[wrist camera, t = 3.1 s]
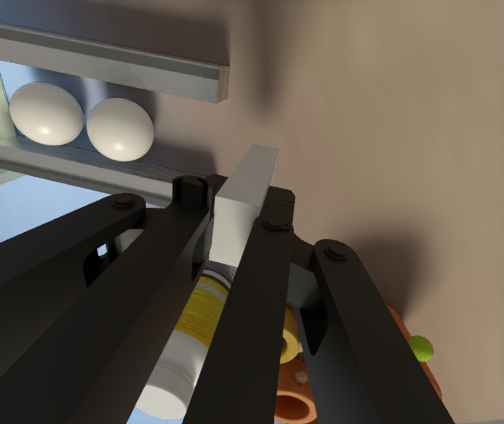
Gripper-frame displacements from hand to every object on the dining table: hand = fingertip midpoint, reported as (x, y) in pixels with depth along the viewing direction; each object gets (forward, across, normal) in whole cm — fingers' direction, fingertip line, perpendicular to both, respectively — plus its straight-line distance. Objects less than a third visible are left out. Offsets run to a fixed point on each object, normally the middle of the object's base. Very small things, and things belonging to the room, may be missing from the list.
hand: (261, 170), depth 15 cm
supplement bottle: (+4, -3, -14) cm, 15 cm away
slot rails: (+4, -11, 0) cm, 12 cm away
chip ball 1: (+3, -14, 0) cm, 15 cm away
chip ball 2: (+4, -9, 0) cm, 10 cm away
